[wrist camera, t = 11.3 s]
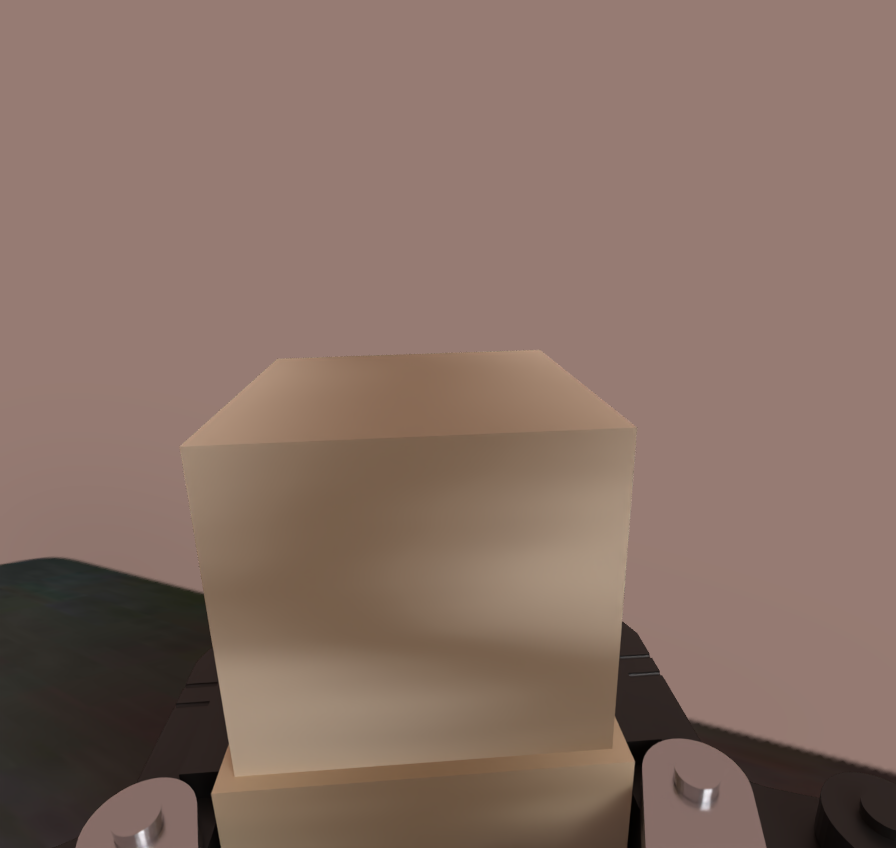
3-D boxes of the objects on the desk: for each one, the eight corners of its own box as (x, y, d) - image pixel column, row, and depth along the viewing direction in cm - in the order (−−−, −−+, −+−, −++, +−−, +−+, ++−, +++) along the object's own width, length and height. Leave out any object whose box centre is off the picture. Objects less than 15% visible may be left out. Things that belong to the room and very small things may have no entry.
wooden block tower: (536, 867, 14) (552, 346, 10) (604, 1190, 9) (680, 435, 6) (325, 885, 14) (263, 355, 10) (281, 1229, 9) (133, 459, 5)
